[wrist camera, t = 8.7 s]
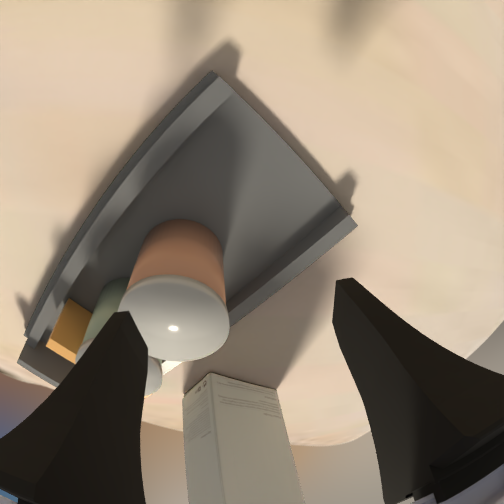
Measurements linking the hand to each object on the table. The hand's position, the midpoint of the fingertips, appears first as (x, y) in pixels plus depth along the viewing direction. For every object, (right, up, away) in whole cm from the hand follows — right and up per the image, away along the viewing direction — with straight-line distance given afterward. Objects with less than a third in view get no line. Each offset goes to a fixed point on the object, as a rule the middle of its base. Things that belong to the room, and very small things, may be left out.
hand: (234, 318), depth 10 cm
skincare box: (-1, -12, +18) cm, 21 cm away
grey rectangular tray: (-7, 0, +9) cm, 12 cm away
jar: (-4, +2, +8) cm, 9 cm away
